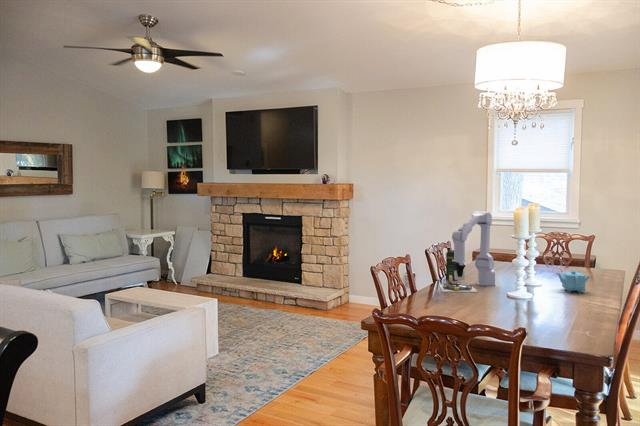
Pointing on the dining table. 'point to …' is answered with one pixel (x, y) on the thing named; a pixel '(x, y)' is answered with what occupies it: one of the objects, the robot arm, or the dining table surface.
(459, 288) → the sprocket
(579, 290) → the teapot
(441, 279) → the dining table surface
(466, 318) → the dining table surface
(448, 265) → the coffee jar
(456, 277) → the yellow banded block
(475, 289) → the base plate
